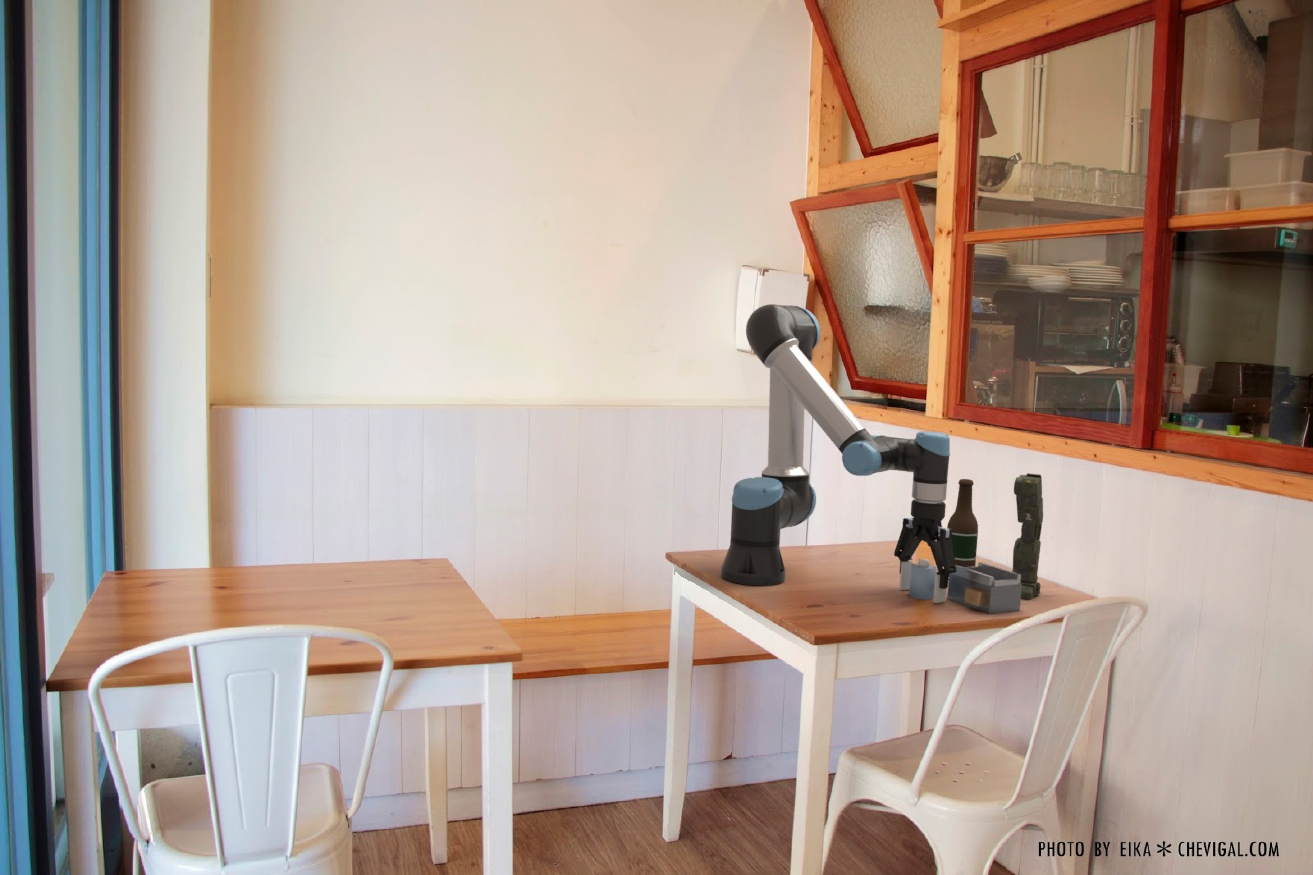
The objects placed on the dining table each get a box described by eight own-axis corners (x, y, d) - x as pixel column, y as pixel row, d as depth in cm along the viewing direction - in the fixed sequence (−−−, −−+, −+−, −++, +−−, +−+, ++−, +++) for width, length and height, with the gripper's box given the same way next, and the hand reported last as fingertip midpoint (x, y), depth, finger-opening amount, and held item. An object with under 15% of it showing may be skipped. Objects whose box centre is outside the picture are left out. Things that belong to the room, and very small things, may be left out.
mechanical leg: (1015, 580, 257) (1019, 464, 247) (1046, 585, 253) (1051, 467, 244) (1002, 604, 246) (1005, 484, 236) (1034, 610, 242) (1038, 488, 233)
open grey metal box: (934, 597, 240) (937, 562, 240) (971, 593, 245) (973, 559, 244) (981, 614, 227) (984, 578, 226) (1019, 610, 232) (1022, 574, 231)
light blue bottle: (904, 594, 242) (906, 558, 241) (922, 592, 244) (925, 556, 243) (920, 600, 237) (922, 563, 236) (939, 598, 239) (941, 561, 238)
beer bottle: (953, 569, 269) (960, 476, 267) (981, 575, 264) (988, 480, 261) (937, 573, 264) (944, 478, 261) (965, 580, 258) (972, 483, 256)
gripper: (978, 508, 230) (970, 607, 232) (907, 491, 250) (901, 582, 253) (951, 510, 226) (944, 610, 229) (882, 492, 247) (876, 584, 249)
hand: (921, 595), depth 241 cm, fingers open, 11 cm apart
